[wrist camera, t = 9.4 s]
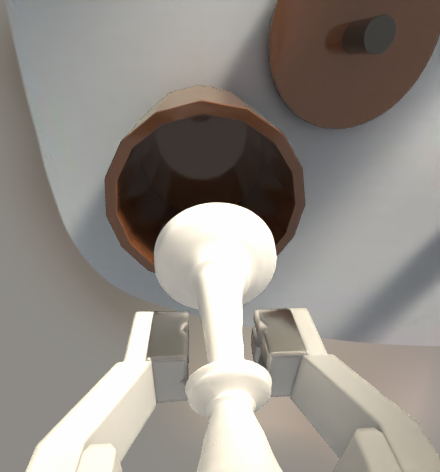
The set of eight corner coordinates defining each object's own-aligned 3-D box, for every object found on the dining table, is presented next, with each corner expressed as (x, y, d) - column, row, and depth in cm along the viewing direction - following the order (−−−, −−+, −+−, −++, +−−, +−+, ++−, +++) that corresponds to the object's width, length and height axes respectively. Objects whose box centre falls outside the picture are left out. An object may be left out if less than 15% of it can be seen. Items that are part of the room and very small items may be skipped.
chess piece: (127, 248, 11) (-76, 821, 3) (231, 175, 10) (428, 806, 2) (203, 316, 14) (218, 747, 5) (295, 264, 12) (518, 716, 4)
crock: (175, 52, 27) (162, 48, 16) (294, 136, 32) (345, 176, 21) (115, 181, 33) (76, 240, 22) (223, 235, 38) (234, 306, 27)
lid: (352, -140, 21) (393, -192, 17) (470, 6, 27) (525, -4, 22) (234, 69, 28) (241, 71, 23) (348, 153, 33) (371, 168, 29)
